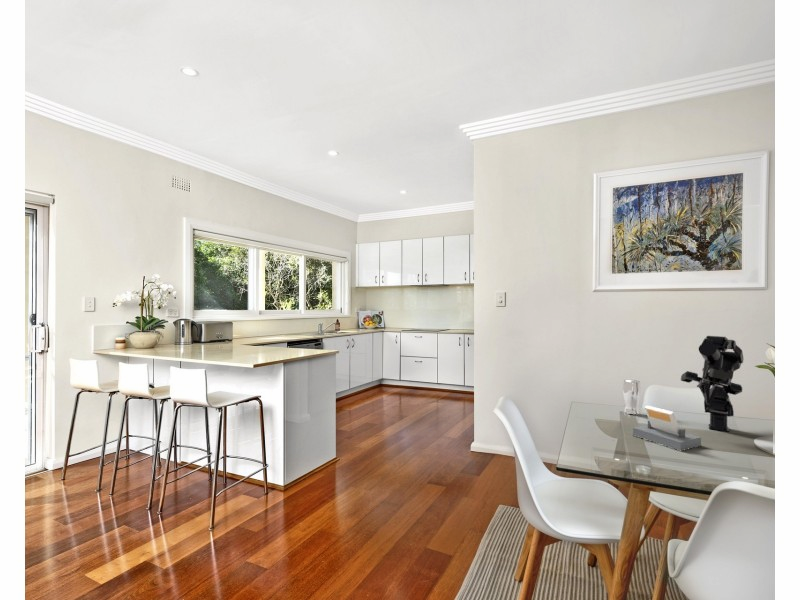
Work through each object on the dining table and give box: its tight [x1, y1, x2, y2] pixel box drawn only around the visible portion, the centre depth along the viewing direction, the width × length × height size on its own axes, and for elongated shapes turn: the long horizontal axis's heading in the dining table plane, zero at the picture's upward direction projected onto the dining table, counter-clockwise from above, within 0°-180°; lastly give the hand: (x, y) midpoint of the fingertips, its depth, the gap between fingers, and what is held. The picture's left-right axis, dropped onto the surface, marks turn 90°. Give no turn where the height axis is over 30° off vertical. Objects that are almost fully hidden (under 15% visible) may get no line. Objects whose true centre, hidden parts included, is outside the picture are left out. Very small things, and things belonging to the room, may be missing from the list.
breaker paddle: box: [644, 405, 680, 435], centre depth 160 cm, size 2×10×9 cm, turn 25°
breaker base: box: [632, 420, 702, 451], centre depth 161 cm, size 12×18×6 cm, turn 26°
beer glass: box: [622, 379, 641, 414], centre depth 197 cm, size 7×7×15 cm
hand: (708, 404), depth 163 cm, fingers closed
